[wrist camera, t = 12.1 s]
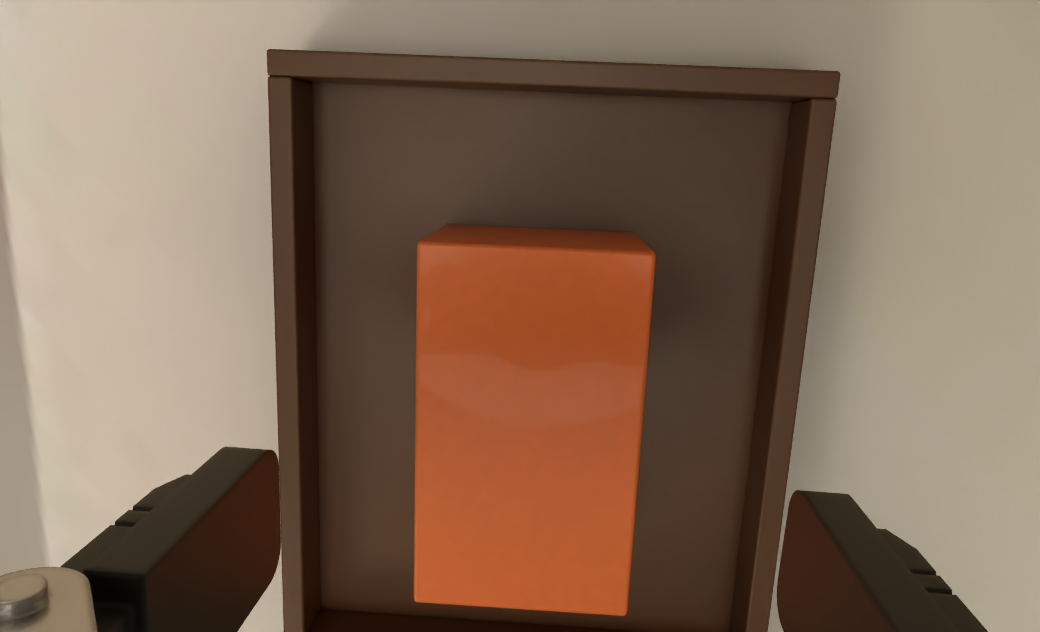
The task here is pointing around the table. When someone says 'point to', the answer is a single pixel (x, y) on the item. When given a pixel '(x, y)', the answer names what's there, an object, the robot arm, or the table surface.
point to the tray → (549, 205)
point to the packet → (529, 416)
